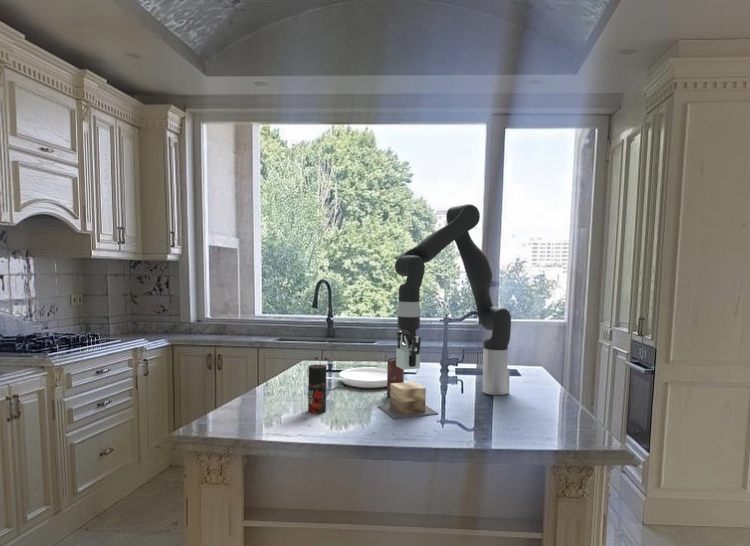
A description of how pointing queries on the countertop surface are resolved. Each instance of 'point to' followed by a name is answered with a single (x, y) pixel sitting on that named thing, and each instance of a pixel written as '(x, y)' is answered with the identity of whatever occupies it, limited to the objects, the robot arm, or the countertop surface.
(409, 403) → the block bottom
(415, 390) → the block top
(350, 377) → the pan
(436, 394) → the countertop surface
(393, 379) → the can
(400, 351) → the cube
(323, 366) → the deodorant
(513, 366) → the countertop surface
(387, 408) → the mat
